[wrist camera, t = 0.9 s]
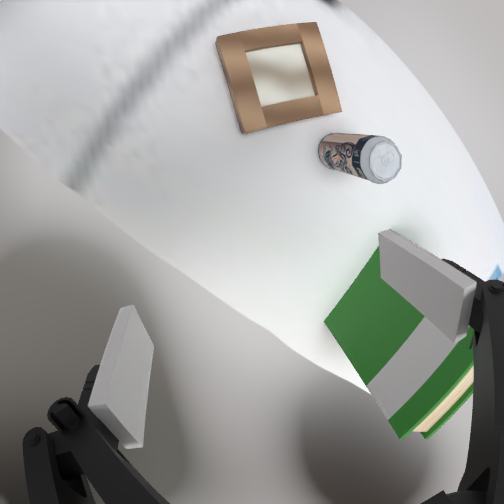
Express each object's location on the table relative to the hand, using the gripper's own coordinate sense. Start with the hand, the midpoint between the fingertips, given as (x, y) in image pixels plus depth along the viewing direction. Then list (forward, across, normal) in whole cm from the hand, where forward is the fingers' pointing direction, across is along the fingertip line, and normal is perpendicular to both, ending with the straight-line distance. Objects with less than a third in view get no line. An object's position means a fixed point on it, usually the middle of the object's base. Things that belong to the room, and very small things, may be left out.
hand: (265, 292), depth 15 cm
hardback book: (+24, +19, -19) cm, 36 cm away
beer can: (+24, +15, +3) cm, 28 cm away
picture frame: (+24, +10, +13) cm, 29 cm away
